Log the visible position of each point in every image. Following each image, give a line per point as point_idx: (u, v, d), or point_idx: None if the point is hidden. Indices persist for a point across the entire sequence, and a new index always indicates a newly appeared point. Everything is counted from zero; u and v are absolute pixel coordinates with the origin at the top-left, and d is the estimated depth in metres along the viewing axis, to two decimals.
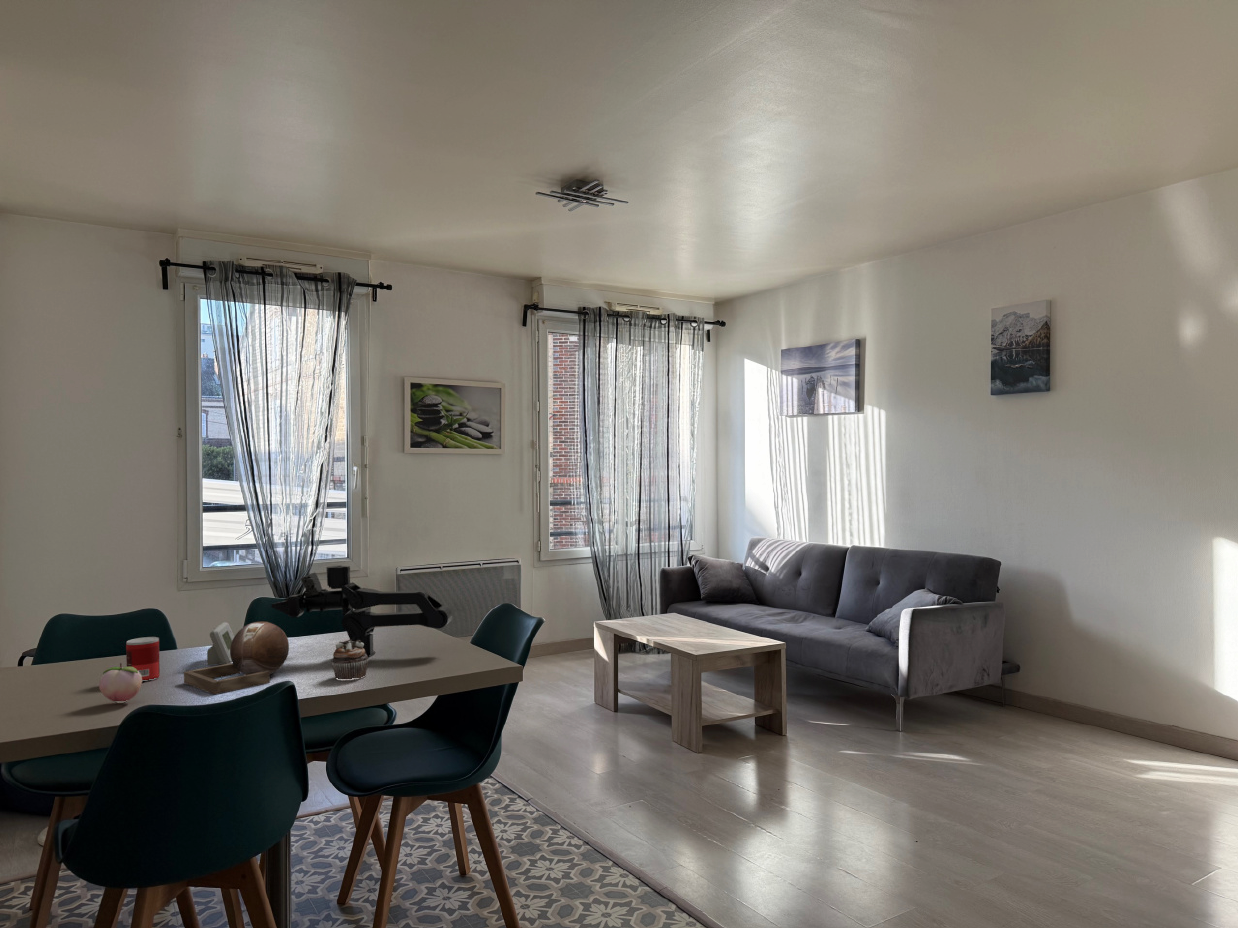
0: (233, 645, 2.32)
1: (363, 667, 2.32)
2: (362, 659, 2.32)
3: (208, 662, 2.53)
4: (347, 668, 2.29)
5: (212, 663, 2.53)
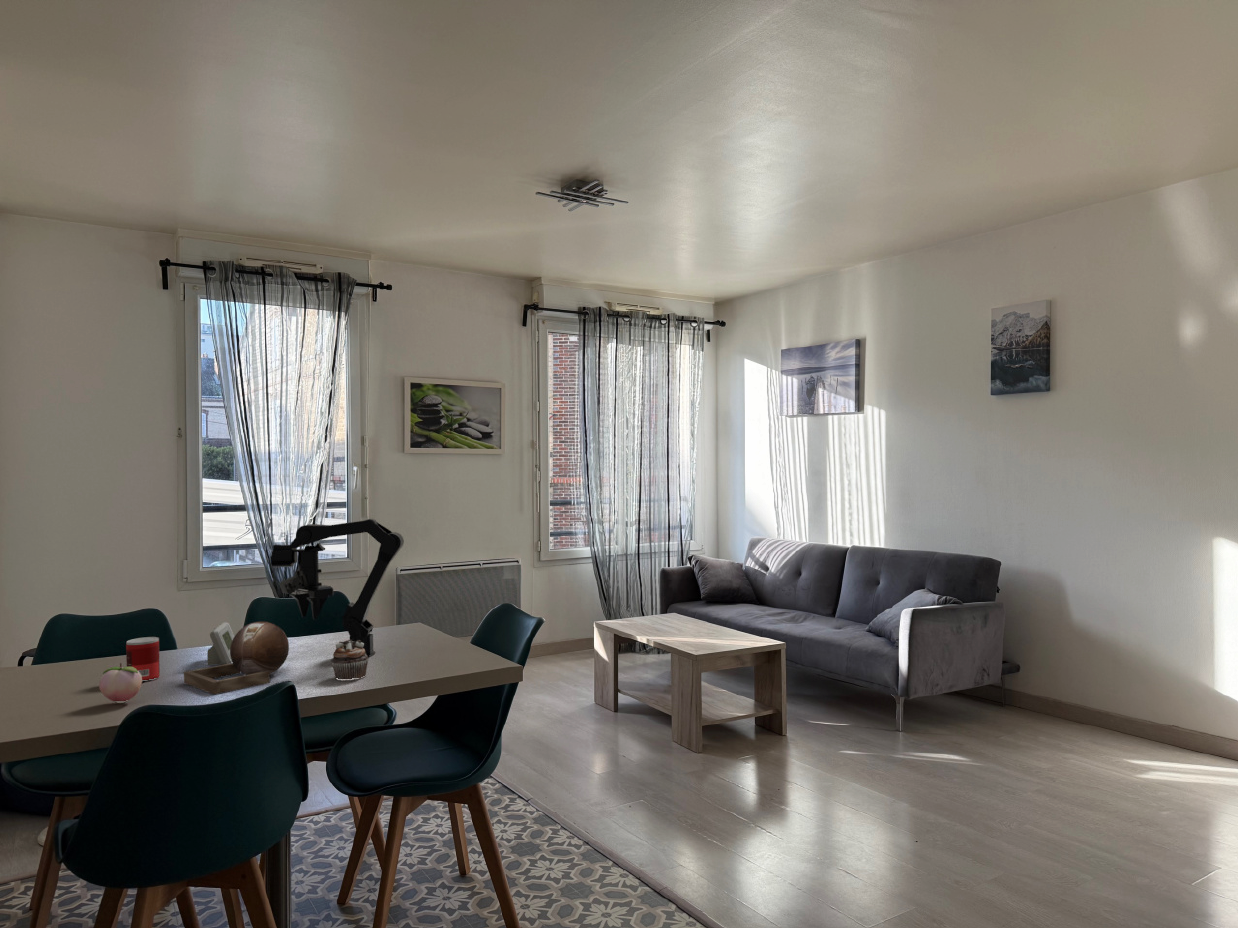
0: (233, 645, 2.32)
1: (363, 667, 2.32)
2: (362, 659, 2.32)
3: (208, 662, 2.53)
4: (347, 668, 2.29)
5: (212, 663, 2.53)
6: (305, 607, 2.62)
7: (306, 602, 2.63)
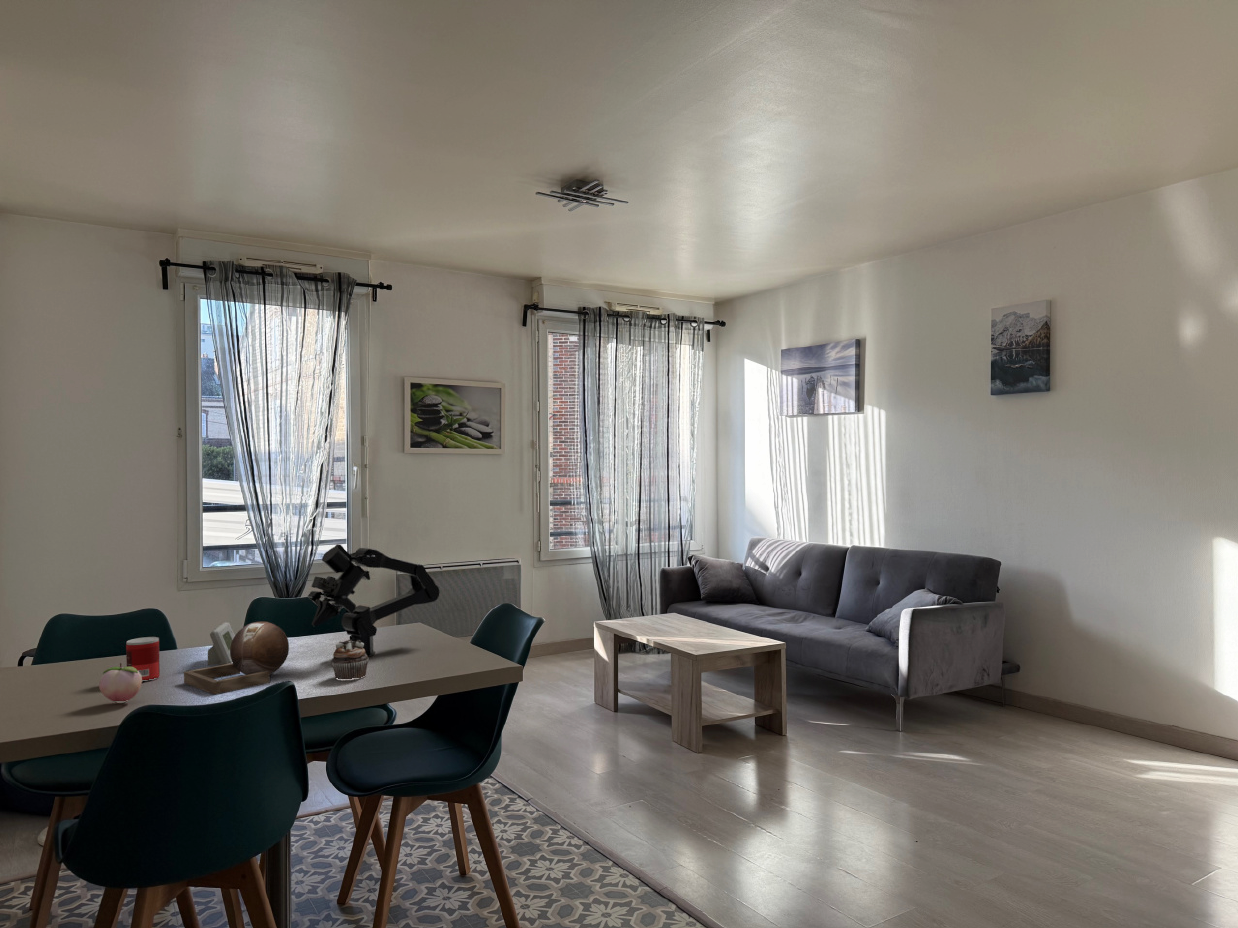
0: (233, 645, 2.32)
1: (363, 667, 2.32)
2: (362, 659, 2.32)
3: (208, 662, 2.53)
4: (347, 668, 2.29)
5: (212, 663, 2.53)
6: None
7: None
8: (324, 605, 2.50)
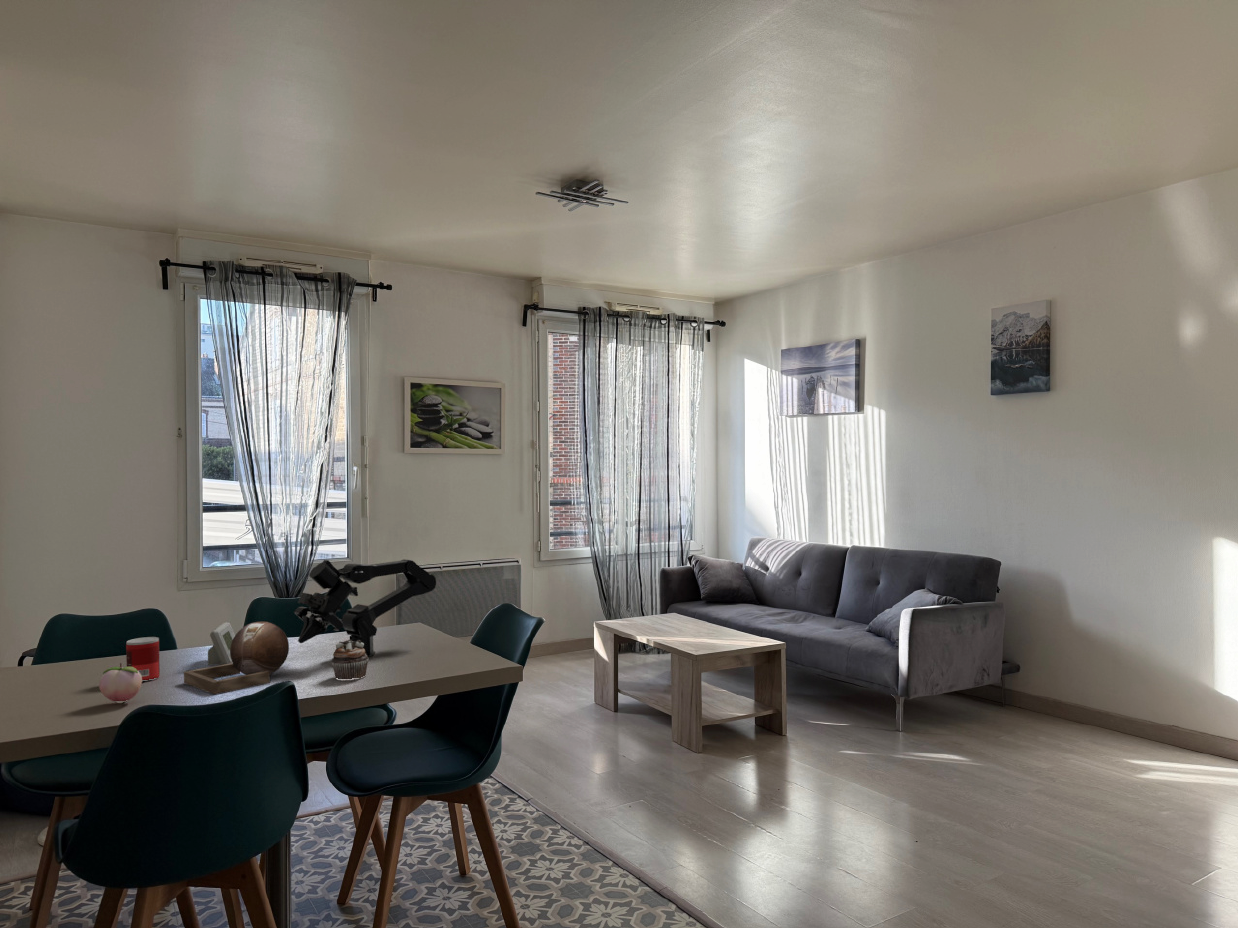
0: (233, 645, 2.32)
1: (363, 667, 2.32)
2: (362, 659, 2.32)
3: (209, 662, 2.53)
4: (347, 668, 2.29)
5: (213, 663, 2.53)
6: None
7: None
8: (311, 622, 2.47)
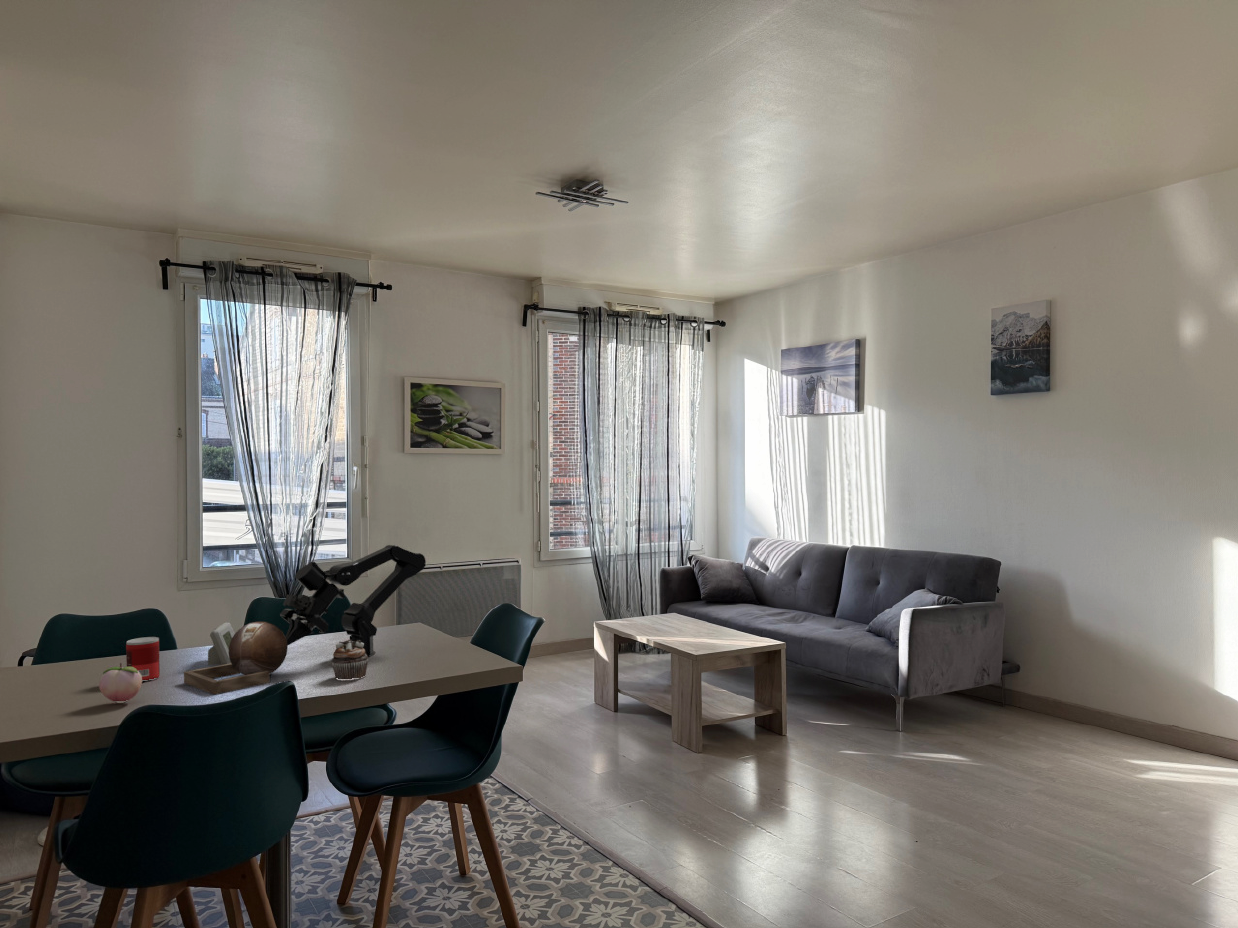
0: (231, 645, 2.32)
1: (363, 667, 2.32)
2: (362, 659, 2.32)
3: (209, 662, 2.53)
4: (347, 668, 2.29)
5: (213, 663, 2.53)
6: None
7: None
8: (296, 624, 2.44)
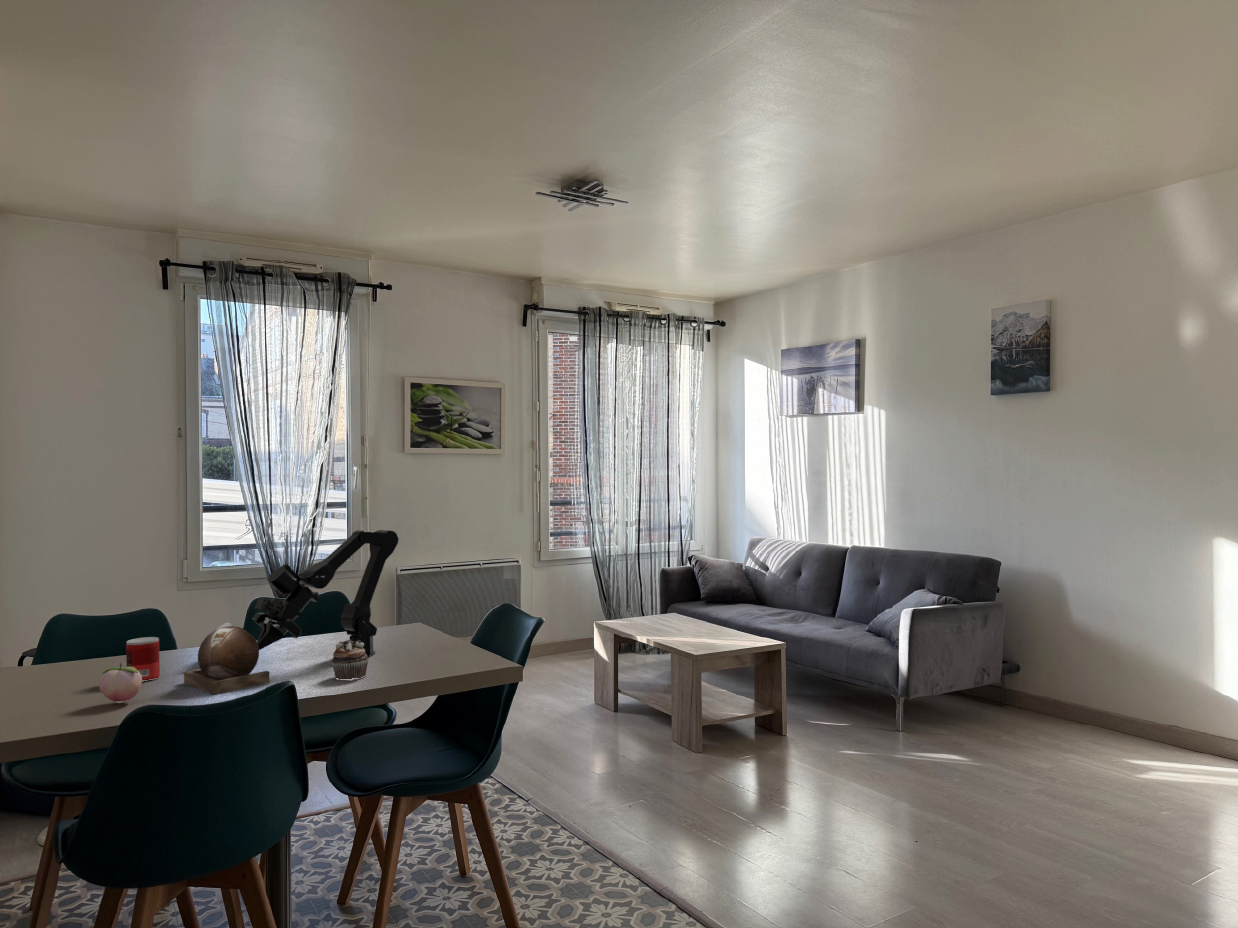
0: (200, 651, 2.26)
1: (363, 667, 2.32)
2: (362, 659, 2.32)
3: None
4: (347, 668, 2.29)
5: None
6: None
7: None
8: (268, 628, 2.38)
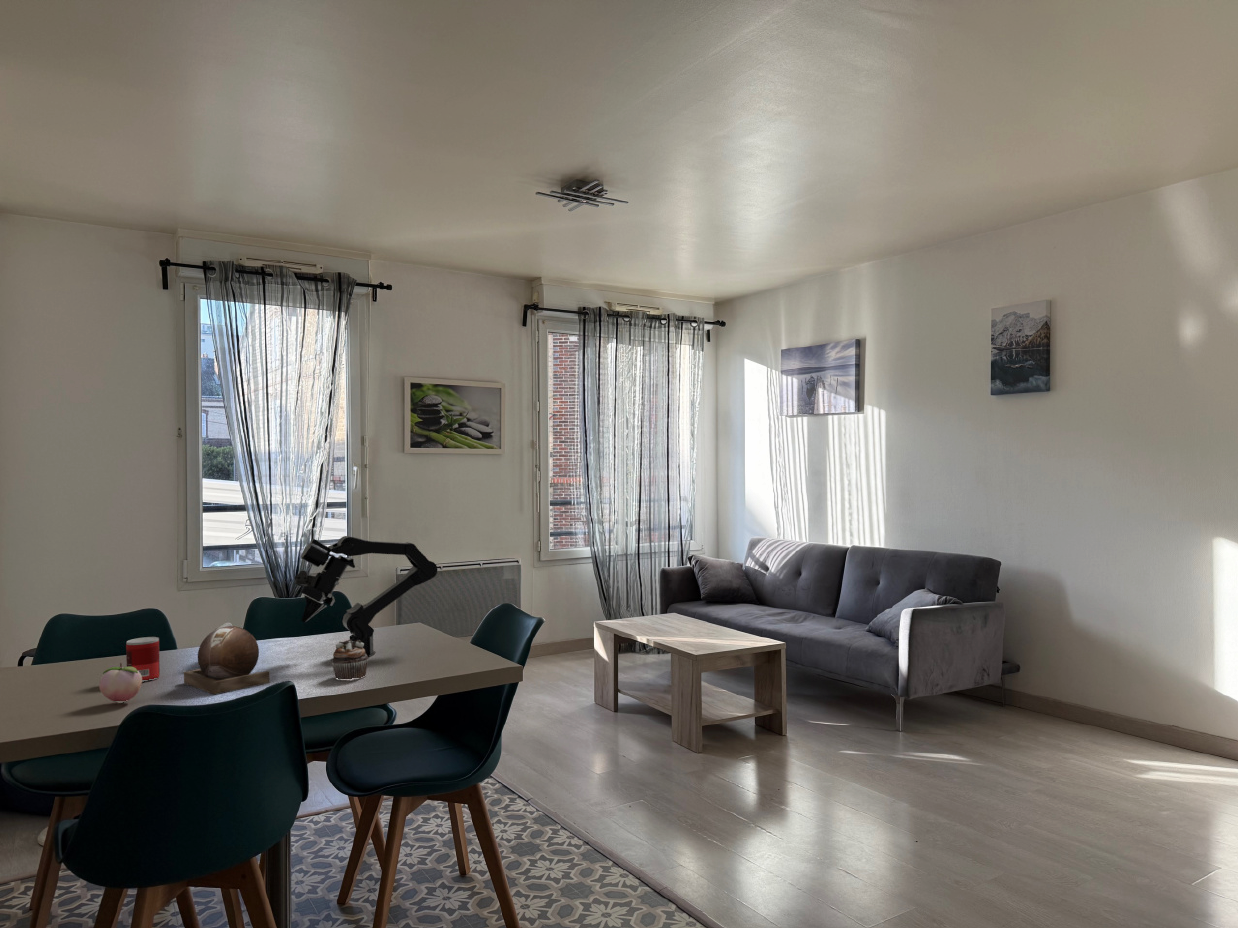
0: (200, 651, 2.26)
1: (363, 667, 2.32)
2: (362, 659, 2.32)
3: None
4: (347, 668, 2.29)
5: None
6: None
7: None
8: (306, 600, 2.53)
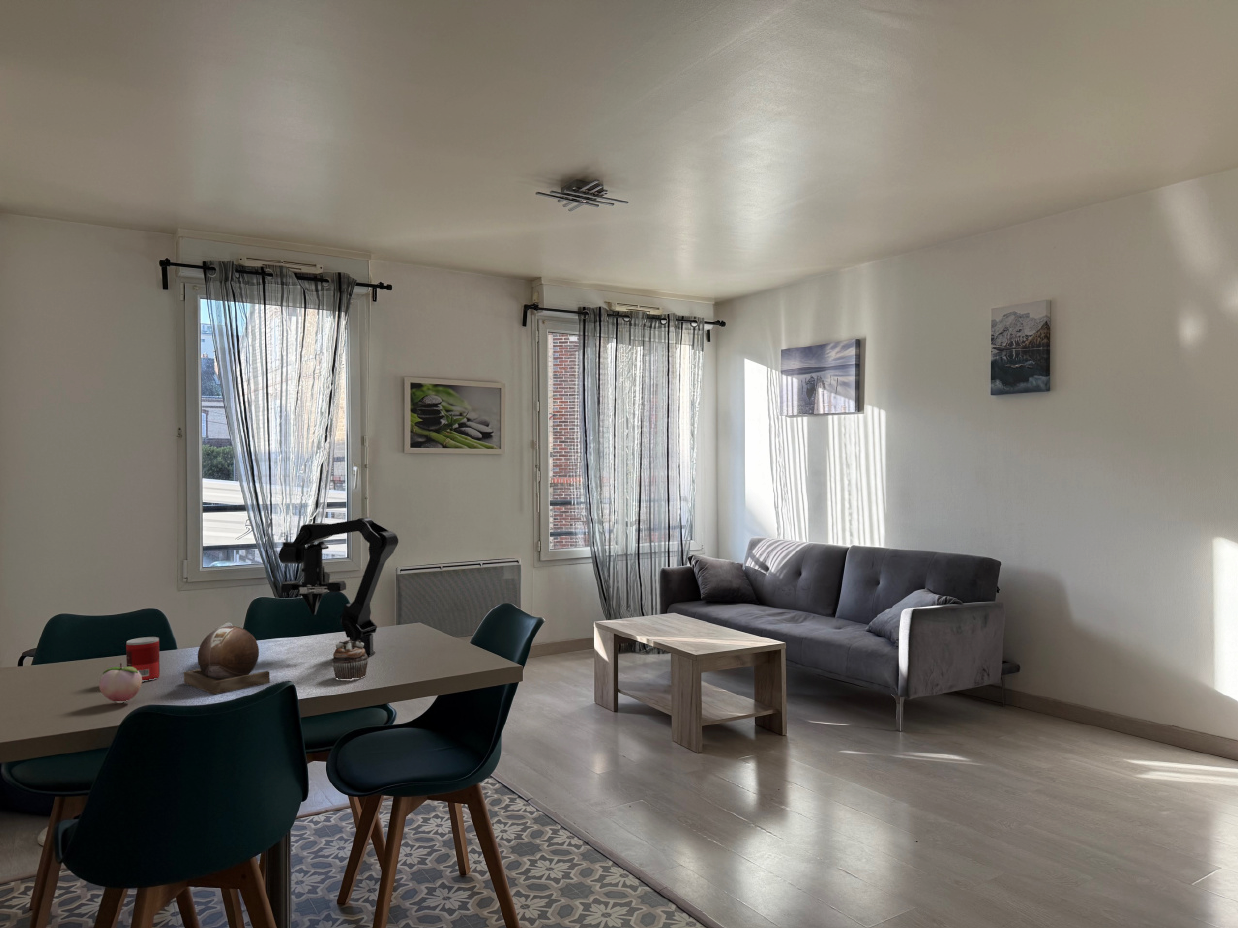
0: (200, 651, 2.26)
1: (363, 667, 2.32)
2: (362, 659, 2.32)
3: None
4: (347, 668, 2.29)
5: None
6: None
7: None
8: None
